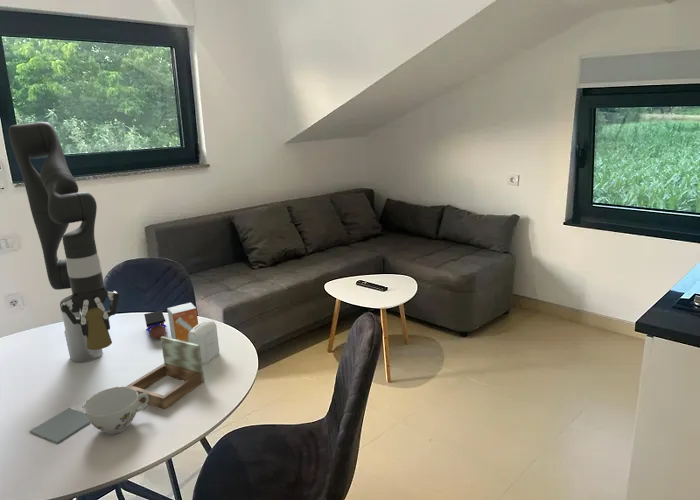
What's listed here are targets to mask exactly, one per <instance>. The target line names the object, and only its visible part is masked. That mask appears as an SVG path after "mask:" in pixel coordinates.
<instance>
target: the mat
mask: <svg viewBox="0 0 700 500" xmlns="http://www.w3.org/2000/svg"><path fill="white" fill-rule="evenodd" d="M90 424H91V422H90V421H89V420H88V418H87V416H86V414H85V412H84V411H83V412H82V411H81V410H80V411H79V410H77V409H74V408H73V407H72V408H71V407H68V408H65V410H62V411H61V412H59V413H57V414H56V415H55V416H53V417H51V418H49V419H47V420H45V421H44V422H42V423H41V424H39V425H37V426H35V427H33V428H31V429H29V433H31V434H33V435H36V436H37V437H41V438H43V439H45V440H49V441H50V442H53V443H55V444H59V443H61V442H62V441H64V440H66V439H67V438H69V437H71V436H72V435H74V434H75V433H77V432H78V431H80V430H82V429H83V428H85V427H86V426H88V425H90Z"/></svg>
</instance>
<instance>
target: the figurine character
mask: <svg viewBox="0 0 700 500" xmlns="http://www.w3.org/2000/svg"><path fill="white" fill-rule="evenodd" d="M143 315H144V320H145V325H146V329H145V331H146V332H148V333H149V334H150V337H151V338H152V339H153V340H161V338H160V337H162V336H164V337H166V331H167V330H166V327H167V325H166V324H165V322H166V317H165V316H164V312H163V310H162V309H161V310H156V311H152V312H148V313H143Z"/></svg>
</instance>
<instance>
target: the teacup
mask: <svg viewBox="0 0 700 500" xmlns="http://www.w3.org/2000/svg"><path fill="white" fill-rule="evenodd" d="M142 397H145V398H146V402H145V403H142V405H141V406H140V407H139V403H140V402H139V400H140V399H141V398H142ZM148 401H149V397H148V394H147V393H142V394H140V395H138V393H137V391H136V390H134V389H132V388H127V387H126V386H115V387H110V388H106V389H103V390H100V391H99V392H97V393H95V394H93V395H92V396H90V398H89V399H87V400H86V401H85V403H84V404H83V406H82V409H83V413H85V414H86V416H87V418H88V420H89V421H90V422H91V423H90V424H91V425H92V426H93V427H94V428H95V429H97V430H98V431H101V432H104V433H105V434H109V435H112V434H113V435H114V434H118V433H121V432H123V431H124V430H125V429H126V428H127V427H129V425H130V424H131V423H132V421H133V420H134V419H135V417H136V414H137V413H139V412H140V411H142V410H143V409H145V407H146V406H147V405H148V404H147V403H148Z"/></svg>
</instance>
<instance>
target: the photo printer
mask: <svg viewBox="0 0 700 500" xmlns="http://www.w3.org/2000/svg"><path fill="white" fill-rule="evenodd" d="M217 329H218V327H217V324H216V322H215V321H214V320H205V321H201V322H199V323H198V325H196V326H195V327H194V328H193V329H192V330H191V331H190V332H189V334H188V340H189V343H193V344H197V345H200V353H201V360H202V366H203V365H205V364H206V363H208V362H209V361H211V360H212V359H214V358H215V357H216V356H218V355H219V354H220V345H219V337H218V330H217Z"/></svg>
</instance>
